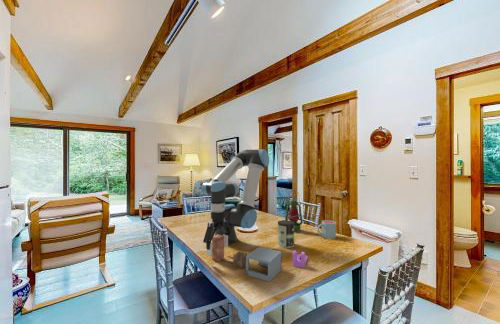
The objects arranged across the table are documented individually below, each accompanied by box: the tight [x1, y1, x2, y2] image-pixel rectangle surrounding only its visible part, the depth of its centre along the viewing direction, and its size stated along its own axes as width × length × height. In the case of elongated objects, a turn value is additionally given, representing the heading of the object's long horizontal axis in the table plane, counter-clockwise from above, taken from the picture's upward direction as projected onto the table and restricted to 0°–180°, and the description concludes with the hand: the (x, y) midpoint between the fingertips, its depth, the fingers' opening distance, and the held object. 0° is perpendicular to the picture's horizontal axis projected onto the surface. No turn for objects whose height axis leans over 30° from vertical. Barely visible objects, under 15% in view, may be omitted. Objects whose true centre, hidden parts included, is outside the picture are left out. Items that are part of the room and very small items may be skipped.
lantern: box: [284, 190, 304, 234], centre depth 170 cm, size 14×11×30 cm
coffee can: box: [277, 219, 295, 249], centre depth 140 cm, size 10×10×14 cm
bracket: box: [291, 250, 308, 269], centre depth 117 cm, size 13×6×7 cm, turn 156°
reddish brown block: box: [211, 234, 248, 269], centre depth 116 cm, size 19×5×12 cm, turn 59°
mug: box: [317, 219, 337, 240], centre depth 156 cm, size 14×9×10 cm
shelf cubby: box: [245, 246, 283, 282], centre depth 106 cm, size 12×13×8 cm
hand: (217, 250), depth 120 cm, fingers open, 13 cm apart
